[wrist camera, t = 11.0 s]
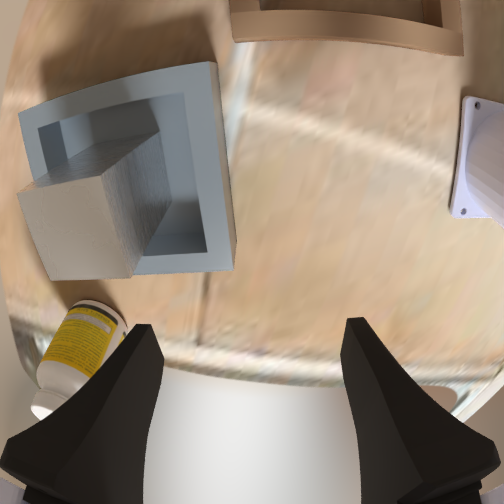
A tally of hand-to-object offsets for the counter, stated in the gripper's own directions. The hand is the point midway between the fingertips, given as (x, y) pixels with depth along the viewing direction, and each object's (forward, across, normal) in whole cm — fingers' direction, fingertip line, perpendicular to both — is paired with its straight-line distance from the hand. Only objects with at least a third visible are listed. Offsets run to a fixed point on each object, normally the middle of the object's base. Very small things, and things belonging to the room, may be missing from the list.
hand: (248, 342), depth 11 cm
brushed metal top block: (+8, +6, -4) cm, 11 cm away
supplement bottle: (+9, +13, +8) cm, 18 cm away
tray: (+9, +6, -4) cm, 12 cm away
